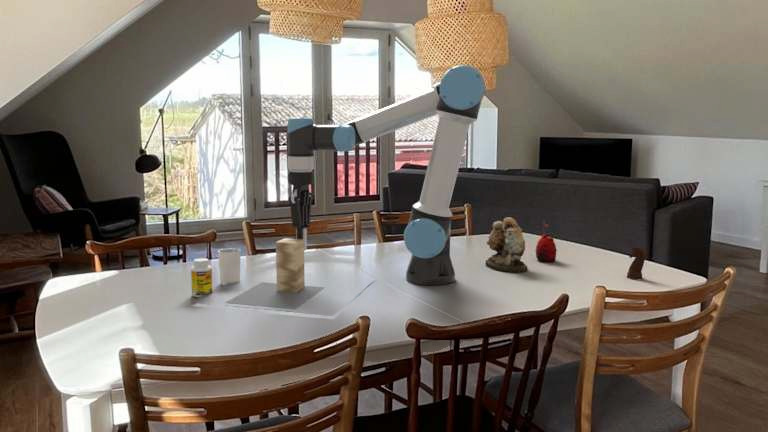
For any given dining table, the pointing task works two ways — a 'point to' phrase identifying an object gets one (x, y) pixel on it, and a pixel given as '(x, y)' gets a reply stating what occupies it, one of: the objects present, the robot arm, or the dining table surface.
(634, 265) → the chess piece
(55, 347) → the dining table surface
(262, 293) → the mat
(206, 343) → the dining table surface
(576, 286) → the dining table surface
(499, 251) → the owl figurine
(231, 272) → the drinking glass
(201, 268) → the supplement bottle
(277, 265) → the oak block
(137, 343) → the dining table surface
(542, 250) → the red clay folk toy
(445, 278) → the robot arm
